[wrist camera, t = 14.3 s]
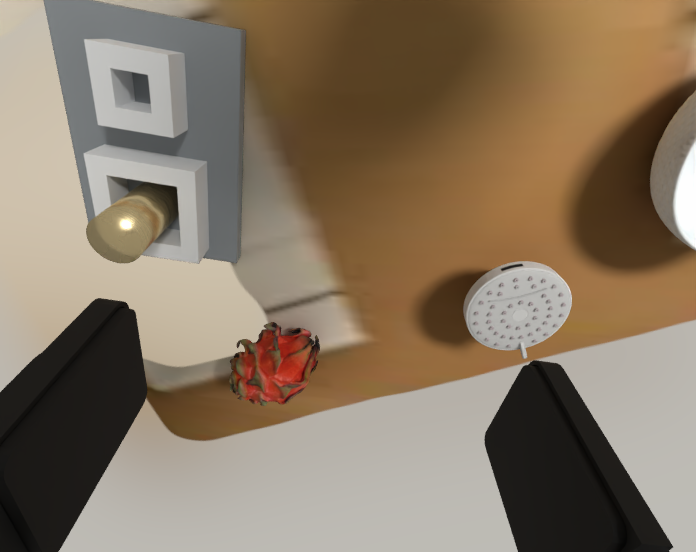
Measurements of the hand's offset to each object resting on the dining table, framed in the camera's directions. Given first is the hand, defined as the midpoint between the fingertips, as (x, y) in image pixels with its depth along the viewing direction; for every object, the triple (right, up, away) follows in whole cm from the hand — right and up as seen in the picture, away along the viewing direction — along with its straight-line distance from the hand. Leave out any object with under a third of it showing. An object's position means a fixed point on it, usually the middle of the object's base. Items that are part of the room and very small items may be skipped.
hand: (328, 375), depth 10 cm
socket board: (-16, +14, +25) cm, 33 cm away
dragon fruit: (-8, -5, +37) cm, 38 cm away
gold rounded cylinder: (-17, +9, +26) cm, 32 cm away
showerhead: (+16, +2, +32) cm, 36 cm away
